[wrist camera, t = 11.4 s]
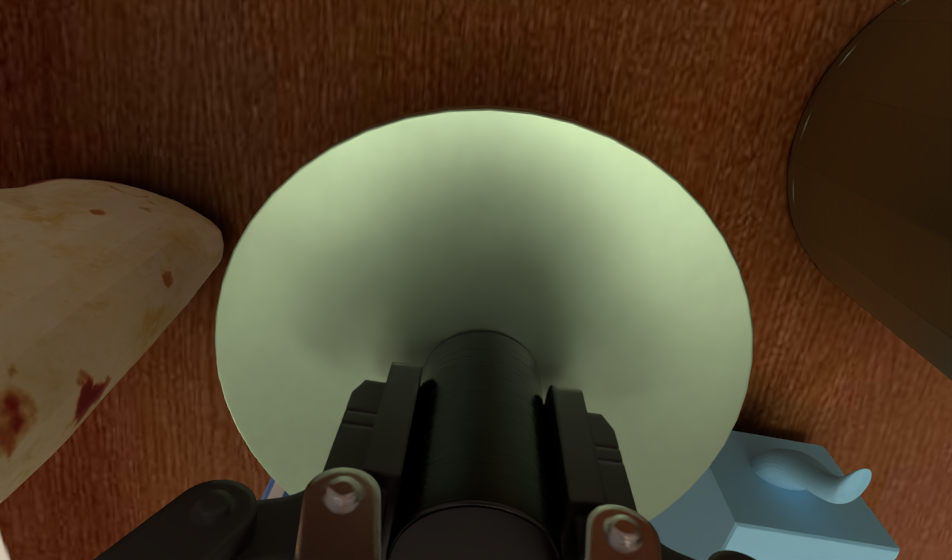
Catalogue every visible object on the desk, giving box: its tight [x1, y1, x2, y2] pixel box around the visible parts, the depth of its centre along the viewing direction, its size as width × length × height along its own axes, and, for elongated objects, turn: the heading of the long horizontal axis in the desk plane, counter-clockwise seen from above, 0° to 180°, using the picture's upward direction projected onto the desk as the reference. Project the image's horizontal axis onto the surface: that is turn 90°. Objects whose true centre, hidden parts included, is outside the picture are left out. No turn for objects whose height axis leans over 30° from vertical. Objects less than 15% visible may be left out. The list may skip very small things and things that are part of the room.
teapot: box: [649, 431, 900, 560], centre depth 24 cm, size 12×6×8 cm, turn 170°
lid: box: [215, 105, 753, 560], centre depth 13 cm, size 13×13×7 cm
